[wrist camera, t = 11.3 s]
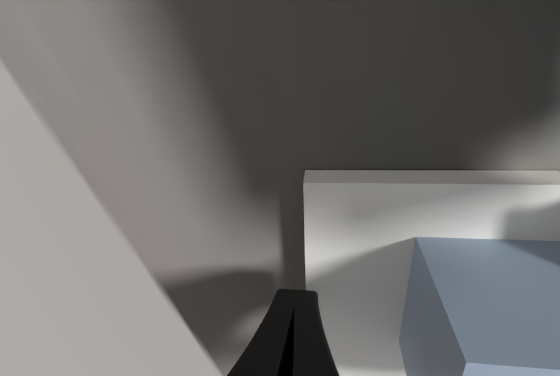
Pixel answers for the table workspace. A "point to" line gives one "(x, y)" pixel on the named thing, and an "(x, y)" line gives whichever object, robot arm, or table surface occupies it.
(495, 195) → the rail board
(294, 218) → the table surface
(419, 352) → the block
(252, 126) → the table surface
